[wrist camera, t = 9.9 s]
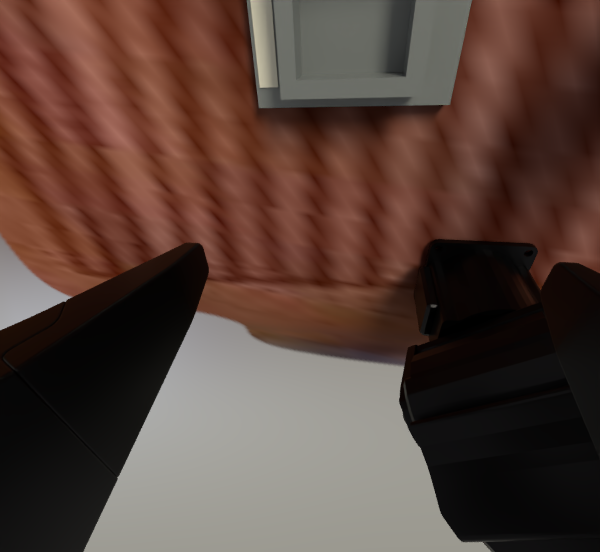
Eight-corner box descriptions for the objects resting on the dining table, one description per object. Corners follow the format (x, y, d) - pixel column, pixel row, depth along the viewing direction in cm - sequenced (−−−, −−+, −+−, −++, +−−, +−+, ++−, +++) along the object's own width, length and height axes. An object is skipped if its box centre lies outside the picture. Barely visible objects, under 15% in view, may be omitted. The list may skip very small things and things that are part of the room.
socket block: (495, -138, 12) (520, -168, 10) (447, 101, 17) (457, 112, 15) (240, -105, 14) (218, -125, 12) (262, 105, 19) (249, 115, 17)
